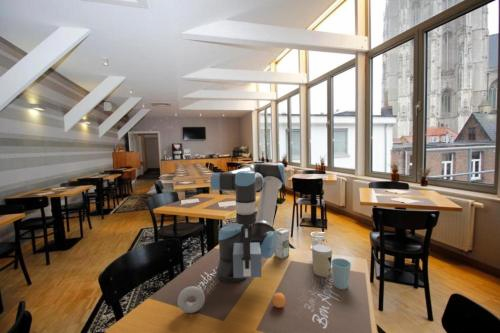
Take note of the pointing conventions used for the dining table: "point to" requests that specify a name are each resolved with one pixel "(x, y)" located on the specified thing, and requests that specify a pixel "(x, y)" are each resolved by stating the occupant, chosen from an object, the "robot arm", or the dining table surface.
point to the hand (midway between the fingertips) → (247, 268)
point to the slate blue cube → (238, 263)
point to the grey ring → (188, 292)
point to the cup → (341, 272)
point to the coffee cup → (321, 259)
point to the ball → (278, 300)
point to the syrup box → (282, 243)
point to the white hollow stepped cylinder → (317, 238)
